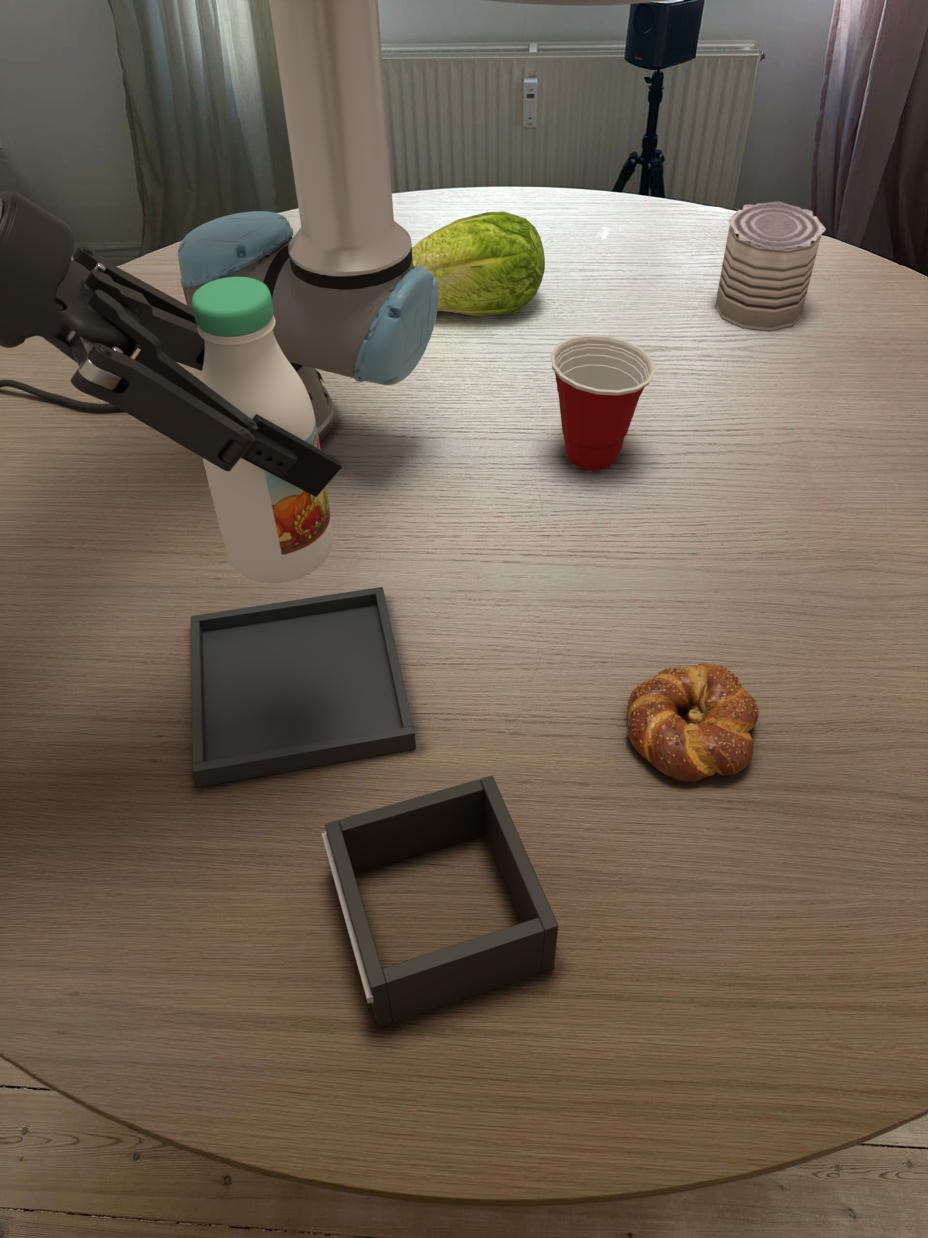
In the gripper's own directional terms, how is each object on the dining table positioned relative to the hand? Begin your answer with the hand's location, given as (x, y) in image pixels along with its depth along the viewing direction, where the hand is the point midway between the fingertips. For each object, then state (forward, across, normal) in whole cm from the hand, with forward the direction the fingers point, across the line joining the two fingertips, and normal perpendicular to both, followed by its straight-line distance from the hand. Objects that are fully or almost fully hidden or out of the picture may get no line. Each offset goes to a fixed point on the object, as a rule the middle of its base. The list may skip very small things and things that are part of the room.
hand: (312, 442), depth 66 cm
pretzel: (+37, -13, +1) cm, 39 cm away
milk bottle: (+4, 0, +9) cm, 9 cm away
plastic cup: (+43, +24, -5) cm, 50 cm away
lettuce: (+41, +62, -3) cm, 74 cm away
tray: (+16, +2, +21) cm, 27 cm away
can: (+67, +47, -29) cm, 87 cm away
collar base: (+19, -22, +18) cm, 34 cm away
